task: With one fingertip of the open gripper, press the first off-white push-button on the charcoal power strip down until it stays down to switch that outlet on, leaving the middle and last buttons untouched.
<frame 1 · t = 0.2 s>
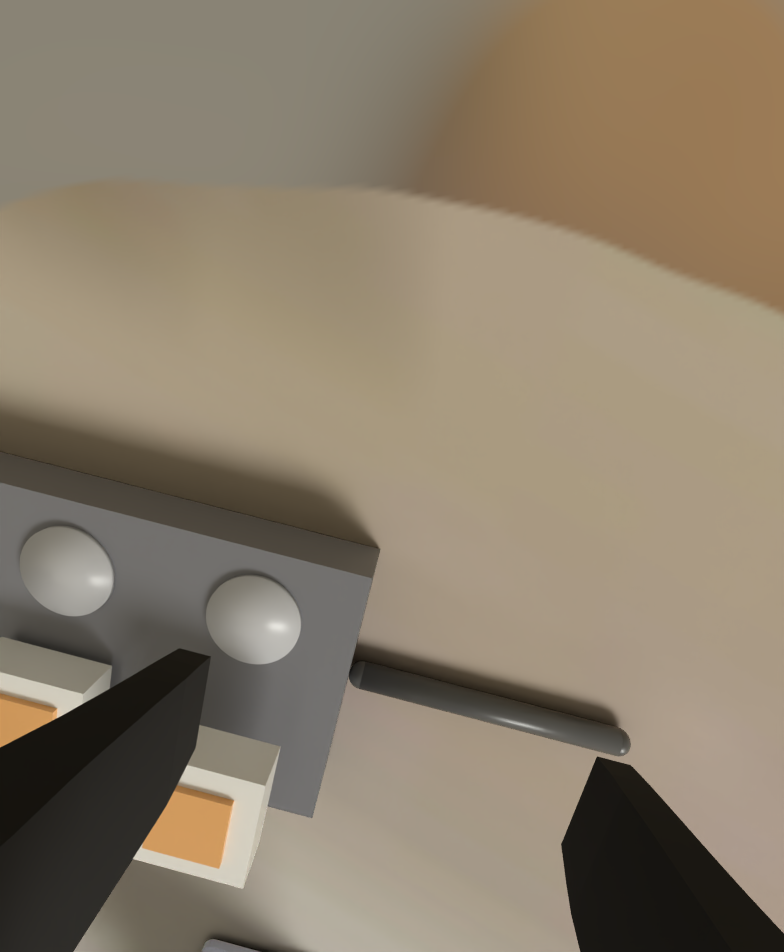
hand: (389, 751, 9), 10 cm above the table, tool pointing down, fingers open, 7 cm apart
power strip: (108, 600, 20), on the table
button 1: (198, 802, 16), point 5 cm above the table, slide at 0.0 cm
button 2: (34, 715, 17), point 4 cm above the table, slide at 1.5 cm
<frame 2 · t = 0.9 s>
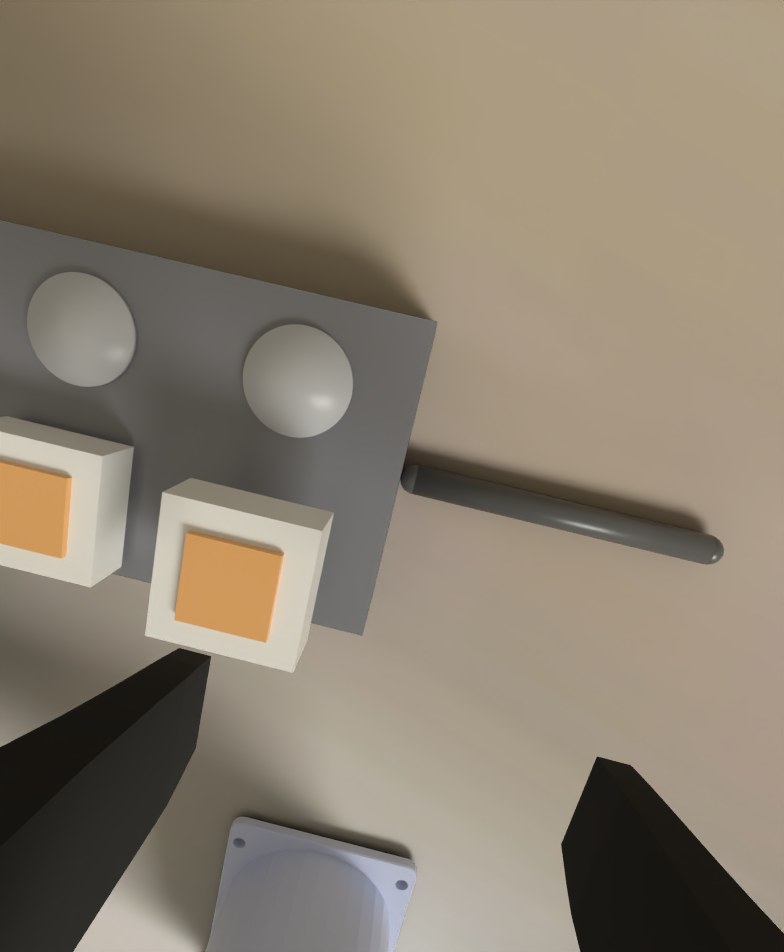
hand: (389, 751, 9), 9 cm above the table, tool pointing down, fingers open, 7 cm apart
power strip: (126, 406, 18), on the table
button 1: (239, 574, 13), point 5 cm above the table, slide at 0.0 cm
button 2: (45, 501, 15), point 4 cm above the table, slide at 1.5 cm
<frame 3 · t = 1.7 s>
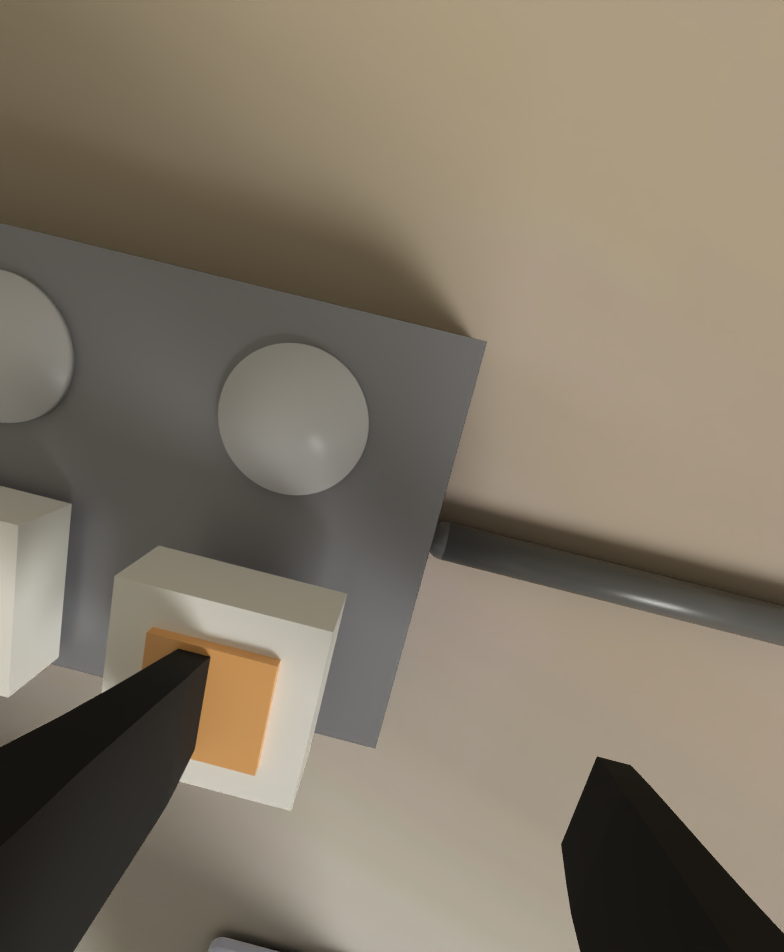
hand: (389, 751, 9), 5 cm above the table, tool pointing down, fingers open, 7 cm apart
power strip: (73, 440, 14), on the table
button 1: (221, 677, 10), point 5 cm above the table, slide at 0.6 cm, touching gripper
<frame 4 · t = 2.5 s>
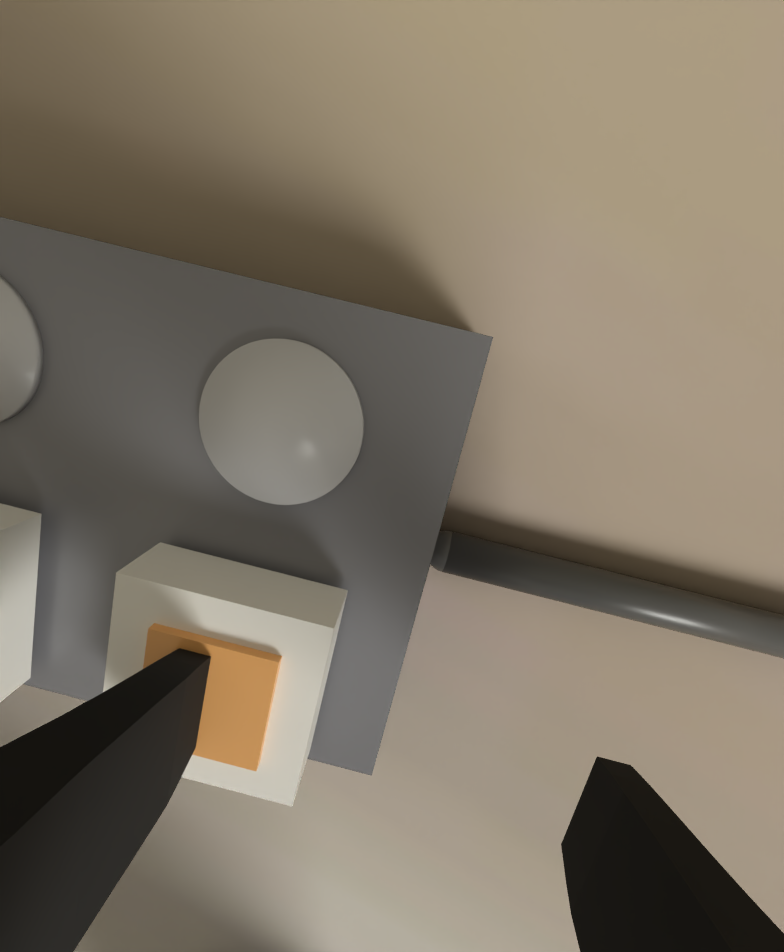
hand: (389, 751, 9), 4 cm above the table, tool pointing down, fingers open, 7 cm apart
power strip: (49, 443, 13), on the table
button 1: (222, 673, 10), point 4 cm above the table, slide at 1.6 cm
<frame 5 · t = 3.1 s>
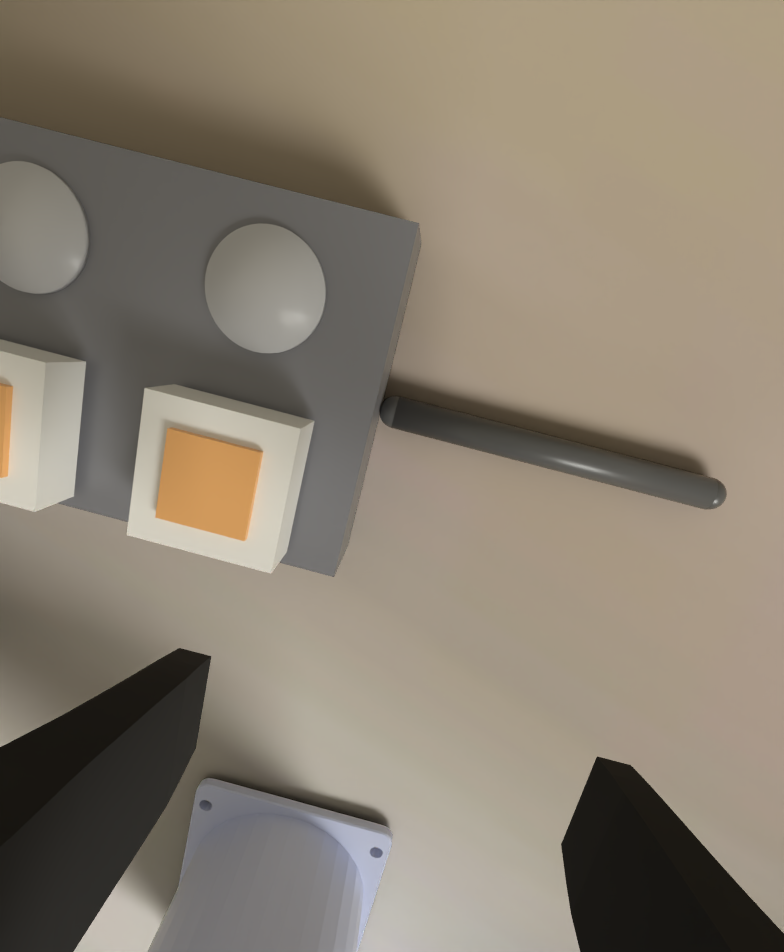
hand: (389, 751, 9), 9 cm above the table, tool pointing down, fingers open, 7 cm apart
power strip: (85, 329, 17), on the table
button 1: (220, 477, 14), point 4 cm above the table, slide at 1.6 cm
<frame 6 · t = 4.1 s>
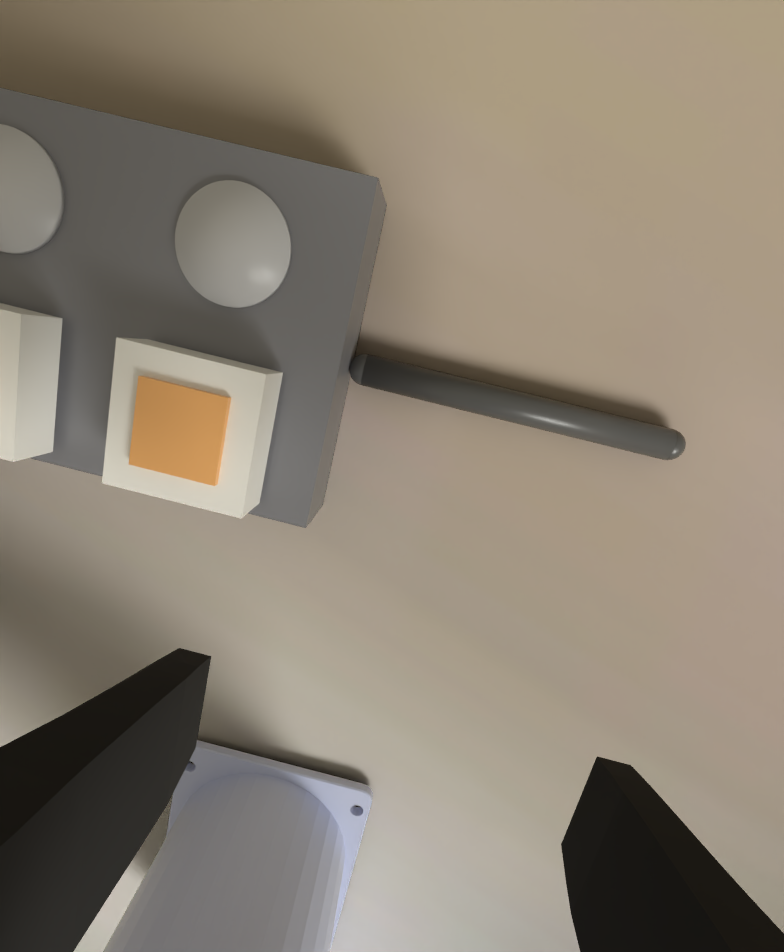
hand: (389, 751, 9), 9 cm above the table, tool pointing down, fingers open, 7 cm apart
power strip: (65, 295, 17), on the table
button 1: (192, 427, 14), point 4 cm above the table, slide at 1.6 cm
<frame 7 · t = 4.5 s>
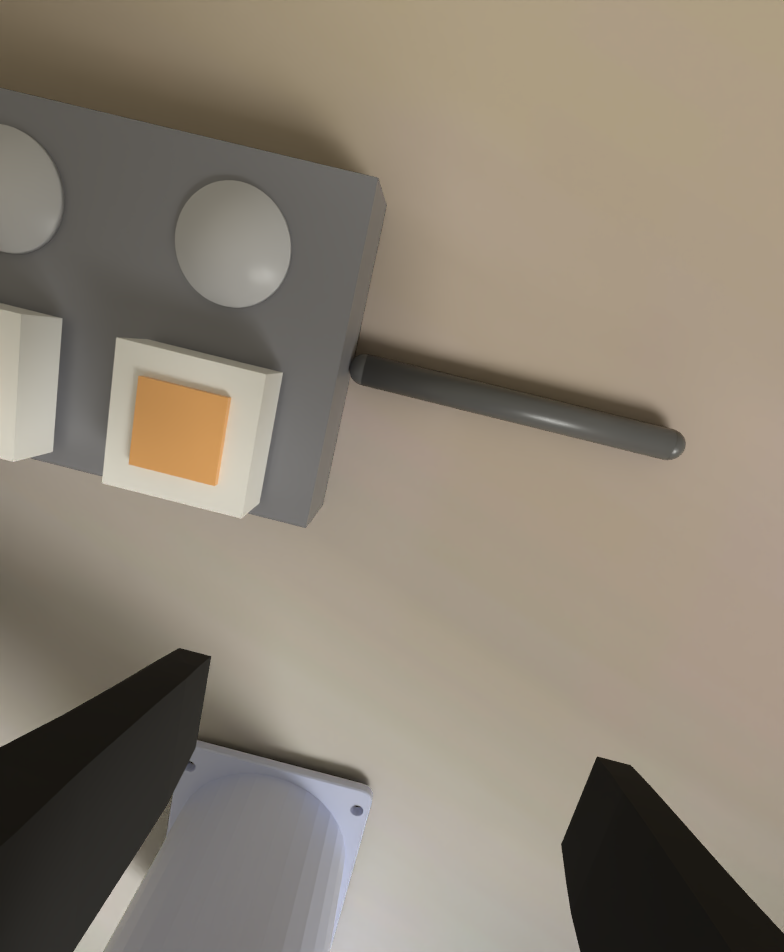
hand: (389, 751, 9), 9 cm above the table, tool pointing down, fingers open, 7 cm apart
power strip: (65, 295, 17), on the table
button 1: (192, 427, 14), point 4 cm above the table, slide at 1.6 cm
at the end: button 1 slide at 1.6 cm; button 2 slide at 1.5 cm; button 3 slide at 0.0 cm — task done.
